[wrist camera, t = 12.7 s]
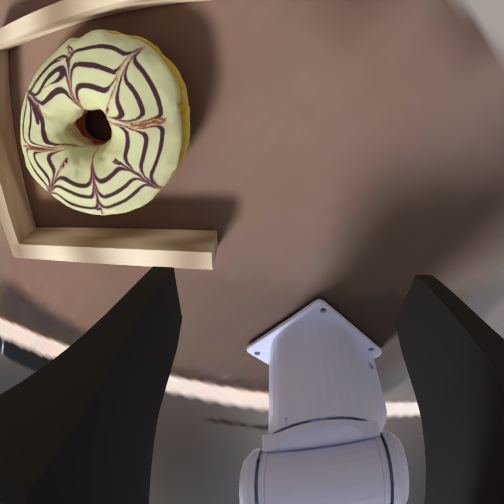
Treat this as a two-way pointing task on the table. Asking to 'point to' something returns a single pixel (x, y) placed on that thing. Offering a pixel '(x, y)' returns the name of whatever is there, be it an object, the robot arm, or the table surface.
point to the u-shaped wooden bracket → (71, 238)
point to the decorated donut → (118, 114)
